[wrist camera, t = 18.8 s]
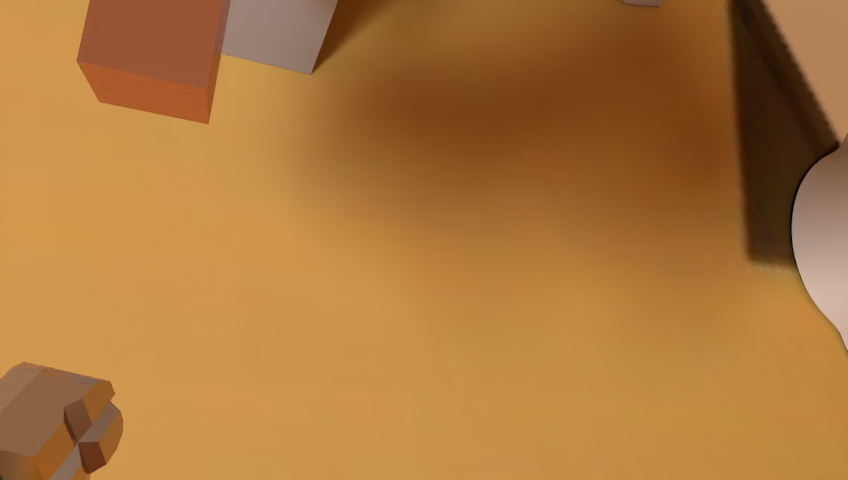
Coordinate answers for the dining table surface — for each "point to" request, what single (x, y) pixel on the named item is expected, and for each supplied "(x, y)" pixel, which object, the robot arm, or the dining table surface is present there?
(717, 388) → the dining table surface
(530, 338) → the dining table surface
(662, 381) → the dining table surface
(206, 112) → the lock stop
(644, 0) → the flask
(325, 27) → the grey post
